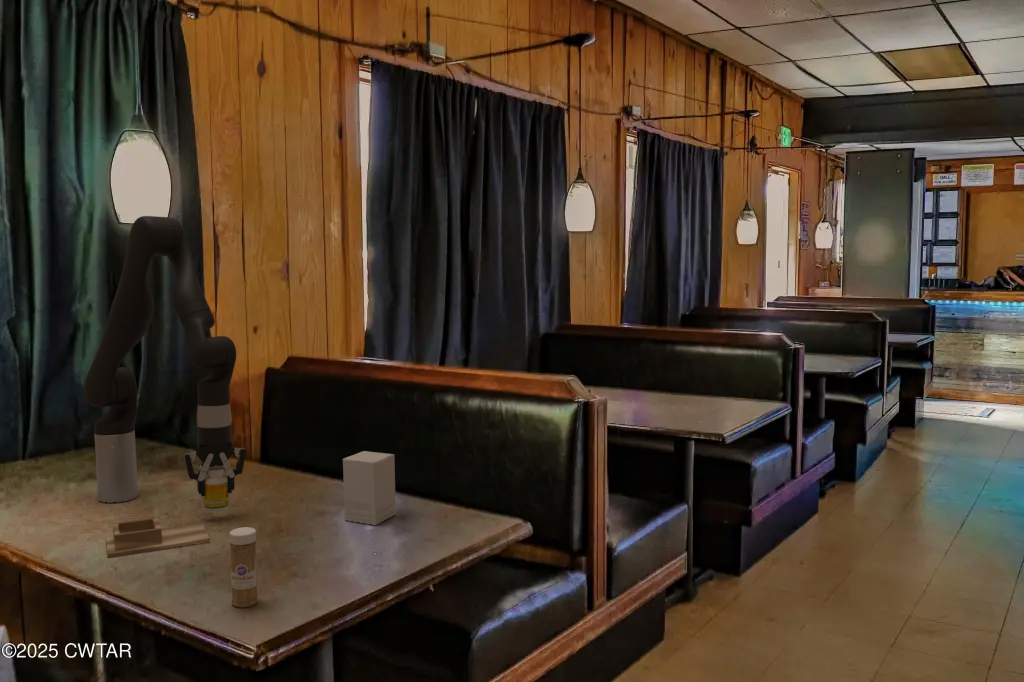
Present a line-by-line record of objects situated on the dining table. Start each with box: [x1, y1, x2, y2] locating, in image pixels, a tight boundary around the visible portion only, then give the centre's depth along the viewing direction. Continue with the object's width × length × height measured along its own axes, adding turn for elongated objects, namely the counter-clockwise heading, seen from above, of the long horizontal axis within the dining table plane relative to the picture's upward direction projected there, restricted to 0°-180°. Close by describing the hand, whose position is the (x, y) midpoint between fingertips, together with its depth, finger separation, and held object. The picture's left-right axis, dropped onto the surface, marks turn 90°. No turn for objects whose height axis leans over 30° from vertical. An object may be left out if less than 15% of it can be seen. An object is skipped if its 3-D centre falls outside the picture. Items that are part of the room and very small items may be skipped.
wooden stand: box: [105, 516, 211, 559], centre depth 184 cm, size 12×20×4 cm, turn 117°
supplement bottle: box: [203, 466, 229, 512], centre depth 198 cm, size 5×5×10 cm
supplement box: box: [342, 450, 397, 526], centre depth 199 cm, size 9×9×15 cm
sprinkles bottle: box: [228, 526, 259, 608], centre depth 152 cm, size 5×5×14 cm
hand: (216, 493), depth 198 cm, fingers closed on supplement bottle, 5 cm apart
